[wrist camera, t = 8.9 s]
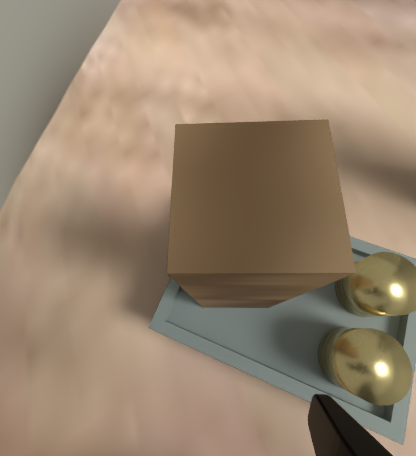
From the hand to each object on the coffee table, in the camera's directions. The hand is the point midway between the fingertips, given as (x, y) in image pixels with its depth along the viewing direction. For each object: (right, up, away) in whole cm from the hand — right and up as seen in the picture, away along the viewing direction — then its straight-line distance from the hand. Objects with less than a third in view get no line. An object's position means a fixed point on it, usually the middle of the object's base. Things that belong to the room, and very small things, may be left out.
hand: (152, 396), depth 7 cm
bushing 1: (+12, 0, +11) cm, 17 cm away
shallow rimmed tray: (+7, -1, +14) cm, 16 cm away
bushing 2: (+10, -4, +10) cm, 15 cm away
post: (+4, +1, +12) cm, 12 cm away
